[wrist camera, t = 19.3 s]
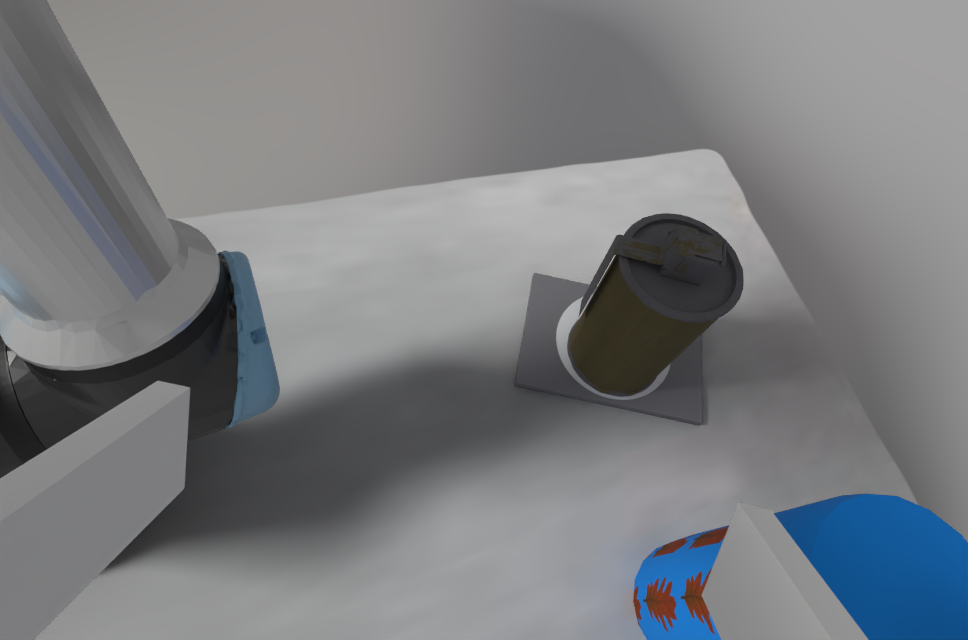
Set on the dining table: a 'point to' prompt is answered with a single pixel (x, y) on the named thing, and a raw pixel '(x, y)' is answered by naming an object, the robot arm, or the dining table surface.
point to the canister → (652, 302)
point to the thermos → (831, 571)
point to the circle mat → (553, 373)
